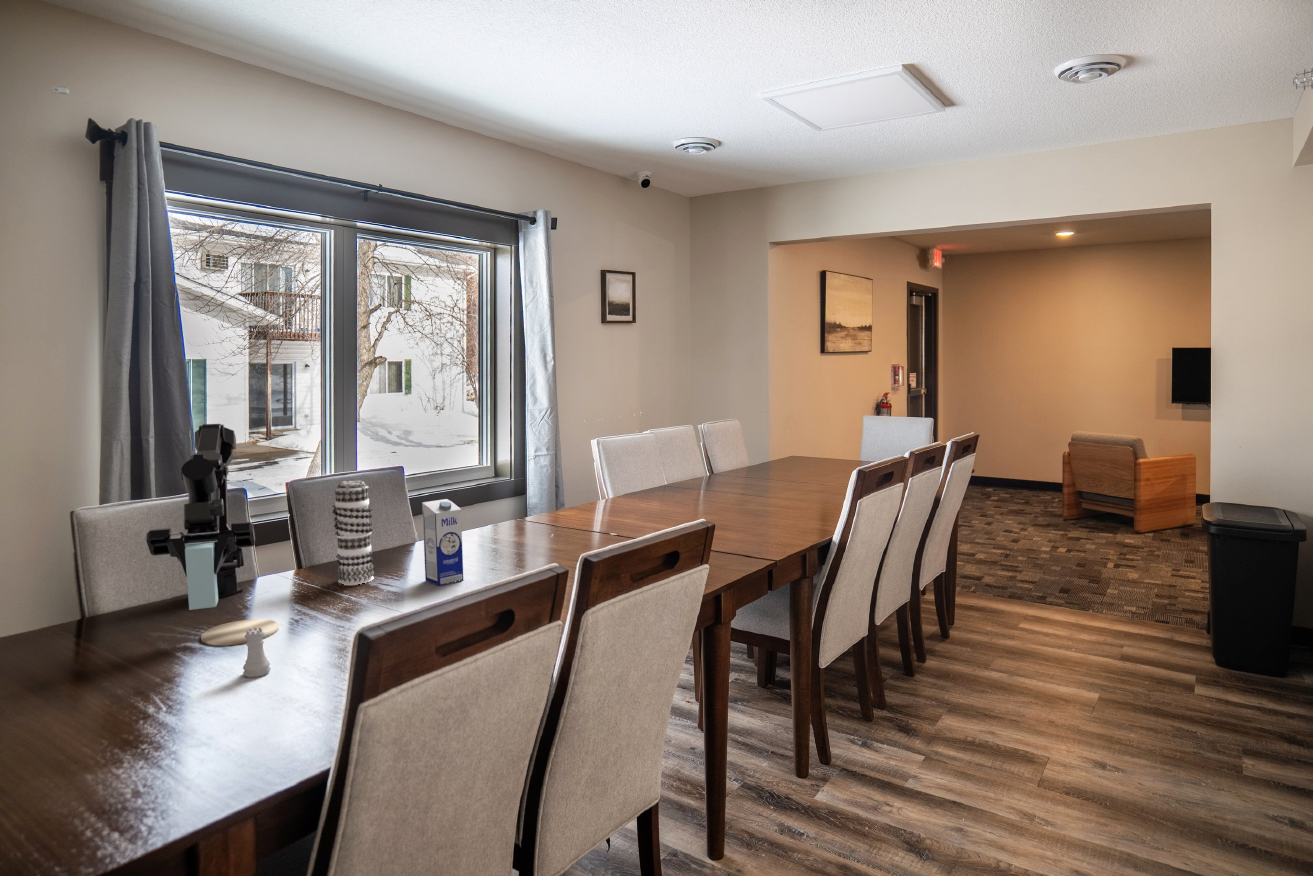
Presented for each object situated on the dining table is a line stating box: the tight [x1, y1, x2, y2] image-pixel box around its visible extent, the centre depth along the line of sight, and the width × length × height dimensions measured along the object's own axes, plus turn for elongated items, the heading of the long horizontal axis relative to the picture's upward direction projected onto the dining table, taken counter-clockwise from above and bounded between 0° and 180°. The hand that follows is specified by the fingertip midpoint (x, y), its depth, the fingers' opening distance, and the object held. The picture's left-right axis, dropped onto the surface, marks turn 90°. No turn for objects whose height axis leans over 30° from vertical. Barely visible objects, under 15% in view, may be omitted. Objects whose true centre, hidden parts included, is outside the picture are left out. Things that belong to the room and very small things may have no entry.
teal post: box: [185, 542, 219, 611], centre depth 161 cm, size 5×5×12 cm
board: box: [200, 618, 280, 647], centre depth 165 cm, size 14×14×1 cm
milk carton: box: [421, 498, 464, 587], centre depth 201 cm, size 7×7×20 cm
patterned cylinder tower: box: [332, 479, 375, 586], centre depth 202 cm, size 9×9×25 cm
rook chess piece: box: [242, 628, 271, 679], centre depth 144 cm, size 4×4×8 cm
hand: (201, 574), depth 159 cm, fingers closed on teal post, 5 cm apart
